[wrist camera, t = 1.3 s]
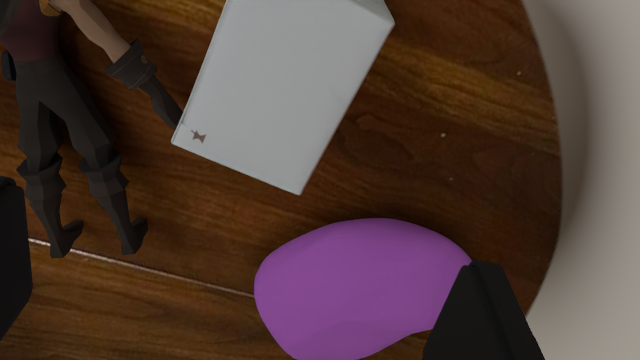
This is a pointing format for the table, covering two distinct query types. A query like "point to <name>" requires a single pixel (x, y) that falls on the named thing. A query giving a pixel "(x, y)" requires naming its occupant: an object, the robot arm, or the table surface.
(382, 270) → the blob
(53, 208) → the figurine
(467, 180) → the table surface
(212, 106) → the small box
